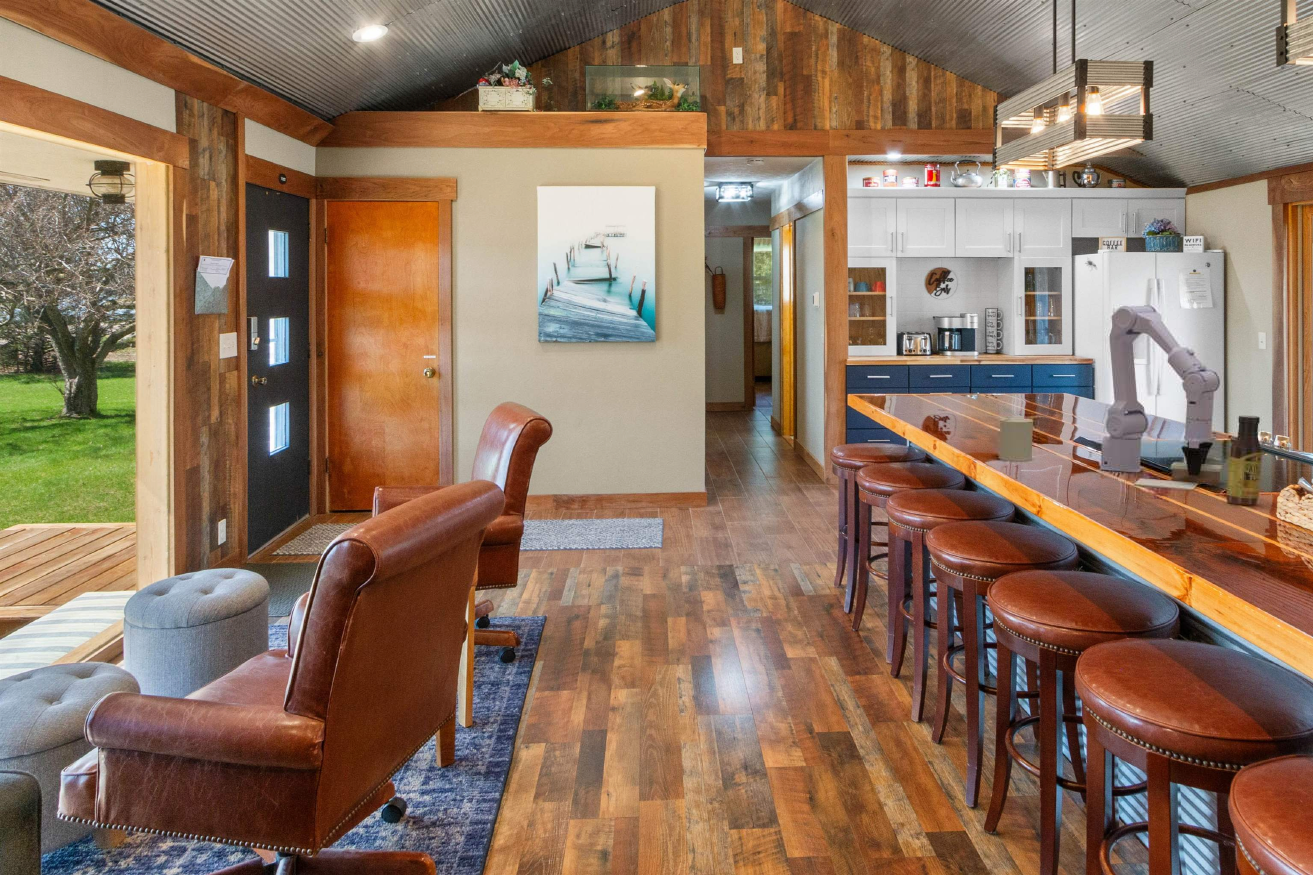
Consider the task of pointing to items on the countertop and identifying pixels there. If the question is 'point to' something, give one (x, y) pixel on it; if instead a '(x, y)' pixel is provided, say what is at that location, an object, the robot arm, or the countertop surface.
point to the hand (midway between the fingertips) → (1195, 472)
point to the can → (1016, 439)
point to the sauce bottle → (1245, 464)
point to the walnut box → (1196, 477)
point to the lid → (1203, 468)
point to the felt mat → (1166, 484)
